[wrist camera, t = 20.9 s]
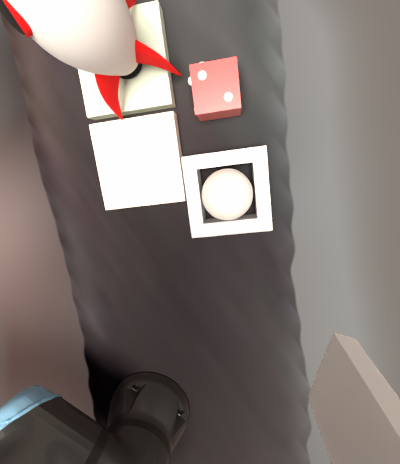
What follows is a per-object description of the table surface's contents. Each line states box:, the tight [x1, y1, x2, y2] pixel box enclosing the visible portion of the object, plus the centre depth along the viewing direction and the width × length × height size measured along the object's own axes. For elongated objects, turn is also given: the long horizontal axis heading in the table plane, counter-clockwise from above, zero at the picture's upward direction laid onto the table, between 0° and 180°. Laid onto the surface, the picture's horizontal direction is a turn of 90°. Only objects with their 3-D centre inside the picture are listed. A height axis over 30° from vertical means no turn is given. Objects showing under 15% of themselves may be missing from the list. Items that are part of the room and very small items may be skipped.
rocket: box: [0, 0, 181, 120], centre depth 28 cm, size 11×11×25 cm
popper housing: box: [181, 146, 273, 238], centre depth 43 cm, size 12×12×4 cm
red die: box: [188, 56, 241, 121], centre depth 39 cm, size 7×7×7 cm
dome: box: [202, 168, 253, 220], centre depth 41 cm, size 7×7×8 cm
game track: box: [78, 0, 187, 210], centre depth 43 cm, size 27×13×2 cm, turn 7°
